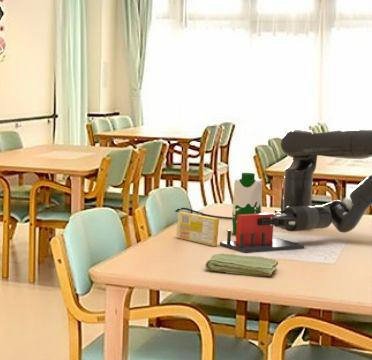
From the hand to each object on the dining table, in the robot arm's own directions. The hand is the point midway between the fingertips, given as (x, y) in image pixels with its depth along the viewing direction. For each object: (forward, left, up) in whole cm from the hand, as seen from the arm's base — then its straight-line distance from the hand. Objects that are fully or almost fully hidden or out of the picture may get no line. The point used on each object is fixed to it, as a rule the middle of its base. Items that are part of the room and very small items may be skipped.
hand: (255, 221), depth 275 cm
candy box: (-13, -11, -8) cm, 19 cm away
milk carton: (-19, +12, -8) cm, 24 cm away
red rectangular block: (0, 0, -7) cm, 7 cm away
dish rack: (0, +3, -8) cm, 9 cm away
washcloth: (+25, -24, -8) cm, 36 cm away
